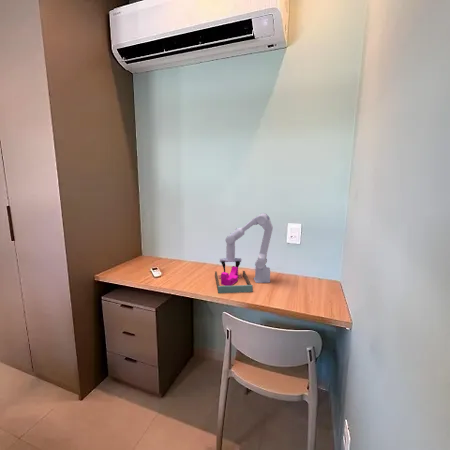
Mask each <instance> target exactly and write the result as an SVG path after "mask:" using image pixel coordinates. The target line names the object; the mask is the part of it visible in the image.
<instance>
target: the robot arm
mask: <svg viewBox="0 0 450 450" xmlns="http://www.w3.org/2000/svg"><path fill="white" fill-rule="evenodd" d="M257 225H259V226H260V227H262V228H263V230H264V232H263V236H262V242H261V244H260V250H259V253H258V256H257V259H256V261H255V263H254V266H255V268H254V270H255V271H254V272H255V274H254V277H253V280H254V282H255V283H256V284H262V283H263V284H264V283H265V284H266V283H271V268H270V267H269V266H267V262H268V259H267V256H268V250H269V247H270V241H271V238H272V234H273V224H272V221H271V218H270V217H269V215H268V214H267V213H265V212H261V213H260V214H258V215H256V216H255V217H253V218H251V219H250V220H249V221H248V222H247V223H245V225H243V226H242V227H236V228H235V229H234V231H232V232H230V233H229V234H228V235H227V236H226V238H225V244H226V249H225V250H226V251H225V252H226V253H225V254H226V255H225V258H224V257H223V258H219V263H221V266H222V269H223V272H226V263H231V262H232V263H235V267H238V268H239V266H240V265H241V263H242V258H241V257H240V258H239V257H236V241H238V240H239V239H240V238H242V237H243V236H244V235H245V232H247V230H249V229H250V228H252V227H253V226H257Z"/></svg>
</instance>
